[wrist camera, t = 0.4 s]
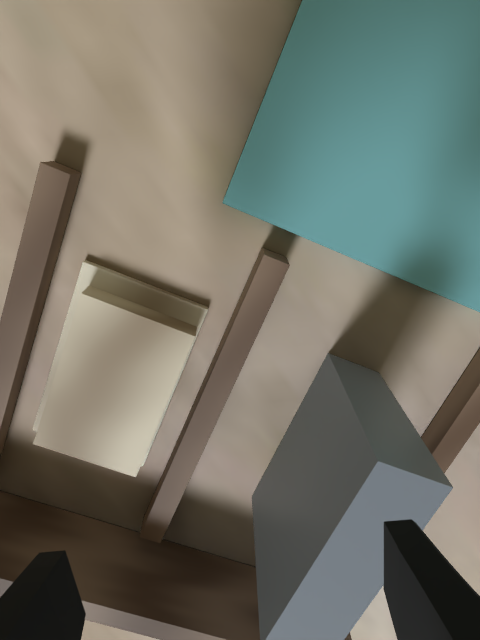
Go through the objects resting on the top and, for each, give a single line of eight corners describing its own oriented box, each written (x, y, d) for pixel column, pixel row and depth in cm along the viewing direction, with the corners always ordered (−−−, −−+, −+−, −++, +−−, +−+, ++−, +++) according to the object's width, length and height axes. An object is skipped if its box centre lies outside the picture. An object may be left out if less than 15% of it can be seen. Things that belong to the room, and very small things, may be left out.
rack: (505, 348, 19) (572, 397, 15) (331, 605, 24) (349, 689, 20) (53, 161, 16) (0, 166, 12) (-35, 498, 21) (-92, 573, 18)
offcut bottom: (209, 301, 19) (207, 309, 18) (147, 452, 21) (143, 466, 21) (90, 255, 18) (83, 261, 17) (41, 417, 21) (32, 430, 20)
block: (378, 372, 19) (452, 487, 13) (297, 510, 22) (325, 665, 15) (328, 352, 19) (377, 460, 13) (251, 495, 22) (260, 647, 15)
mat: (712, -7, 15) (727, -12, 14) (499, 318, 19) (505, 323, 18) (382, -205, 13) (388, -218, 12) (222, 201, 17) (222, 202, 16)
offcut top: (197, 326, 18) (195, 336, 17) (140, 462, 20) (135, 477, 20) (89, 285, 18) (81, 293, 17) (42, 429, 20) (32, 444, 19)
